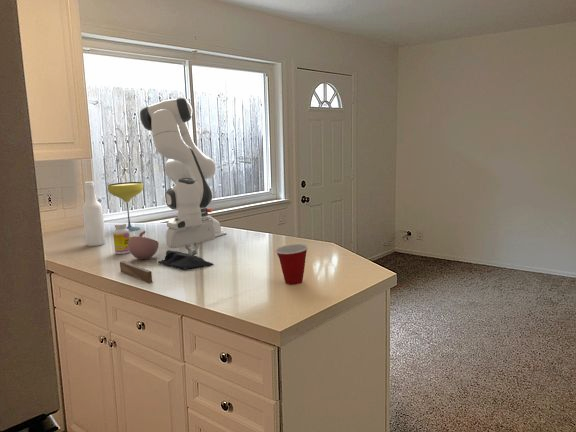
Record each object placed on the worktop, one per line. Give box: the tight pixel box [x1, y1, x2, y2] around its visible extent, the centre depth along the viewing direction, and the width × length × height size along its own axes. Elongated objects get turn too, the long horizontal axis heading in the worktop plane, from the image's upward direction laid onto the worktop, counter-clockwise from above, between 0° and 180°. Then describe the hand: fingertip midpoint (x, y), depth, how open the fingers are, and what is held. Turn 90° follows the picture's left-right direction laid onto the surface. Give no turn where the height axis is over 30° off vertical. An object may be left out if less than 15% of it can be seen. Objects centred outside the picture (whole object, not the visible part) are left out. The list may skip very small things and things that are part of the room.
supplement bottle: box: [112, 222, 131, 255], centre depth 215 cm, size 7×7×13 cm
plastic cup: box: [275, 243, 309, 286], centre depth 162 cm, size 11×11×12 cm
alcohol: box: [81, 180, 107, 247], centre depth 232 cm, size 9×9×30 cm
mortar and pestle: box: [128, 230, 160, 260], centre depth 203 cm, size 12×12×11 cm
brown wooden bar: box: [119, 260, 153, 284], centre depth 177 cm, size 2×22×4 cm, turn 43°
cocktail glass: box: [107, 181, 144, 232], centre depth 266 cm, size 18×18×25 cm
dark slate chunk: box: [157, 250, 215, 271], centre depth 192 cm, size 15×22×5 cm
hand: (192, 254), depth 193 cm, fingers closed
